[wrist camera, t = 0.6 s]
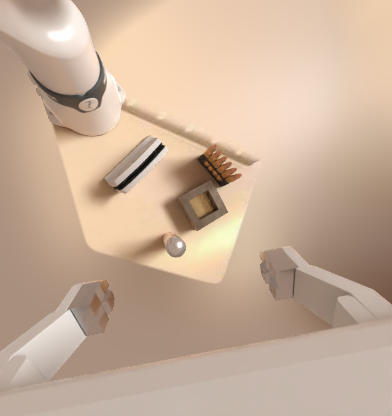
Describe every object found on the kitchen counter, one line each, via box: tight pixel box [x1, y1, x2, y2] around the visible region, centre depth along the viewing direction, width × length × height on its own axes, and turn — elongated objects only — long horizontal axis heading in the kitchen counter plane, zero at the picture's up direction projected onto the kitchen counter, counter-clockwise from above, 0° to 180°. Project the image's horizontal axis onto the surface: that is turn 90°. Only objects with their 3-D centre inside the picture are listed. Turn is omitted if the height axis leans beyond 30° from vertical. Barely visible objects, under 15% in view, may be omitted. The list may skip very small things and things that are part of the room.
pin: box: [163, 232, 186, 257], centre depth 45 cm, size 4×4×12 cm
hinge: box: [104, 135, 168, 193], centre depth 45 cm, size 17×5×10 cm, turn 138°
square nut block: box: [176, 180, 228, 231], centre depth 51 cm, size 10×10×4 cm
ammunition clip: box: [198, 145, 242, 187], centre depth 48 cm, size 11×2×12 cm, turn 44°
